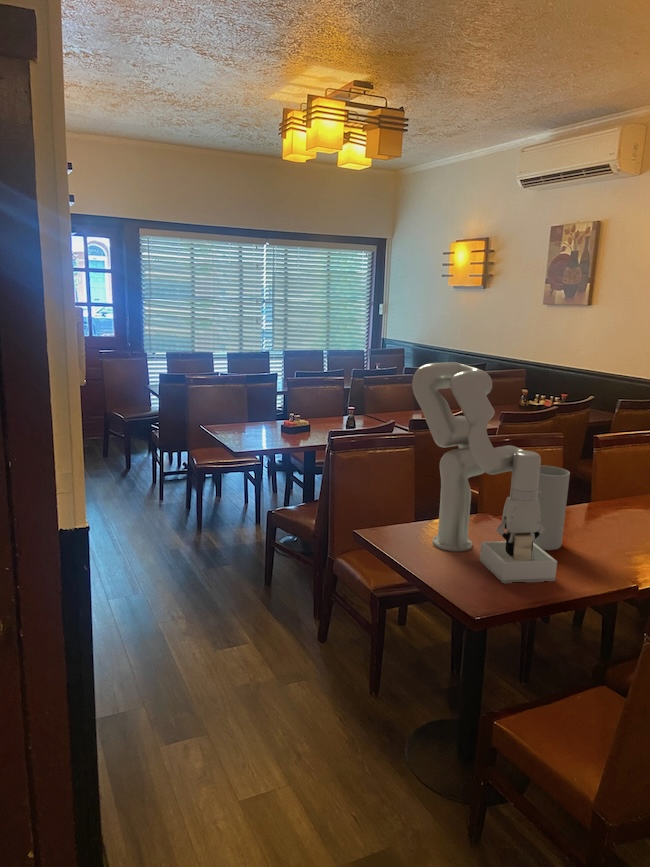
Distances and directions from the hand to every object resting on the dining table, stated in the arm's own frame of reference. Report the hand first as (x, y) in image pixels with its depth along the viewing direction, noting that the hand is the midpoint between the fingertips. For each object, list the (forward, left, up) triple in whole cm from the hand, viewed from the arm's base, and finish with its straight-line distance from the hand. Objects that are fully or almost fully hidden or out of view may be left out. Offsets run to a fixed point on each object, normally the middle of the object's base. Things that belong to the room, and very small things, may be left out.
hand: (518, 553), depth 183 cm
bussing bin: (0, 0, -6) cm, 6 cm away
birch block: (0, 0, -1) cm, 1 cm away
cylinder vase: (-19, +18, -6) cm, 27 cm away
